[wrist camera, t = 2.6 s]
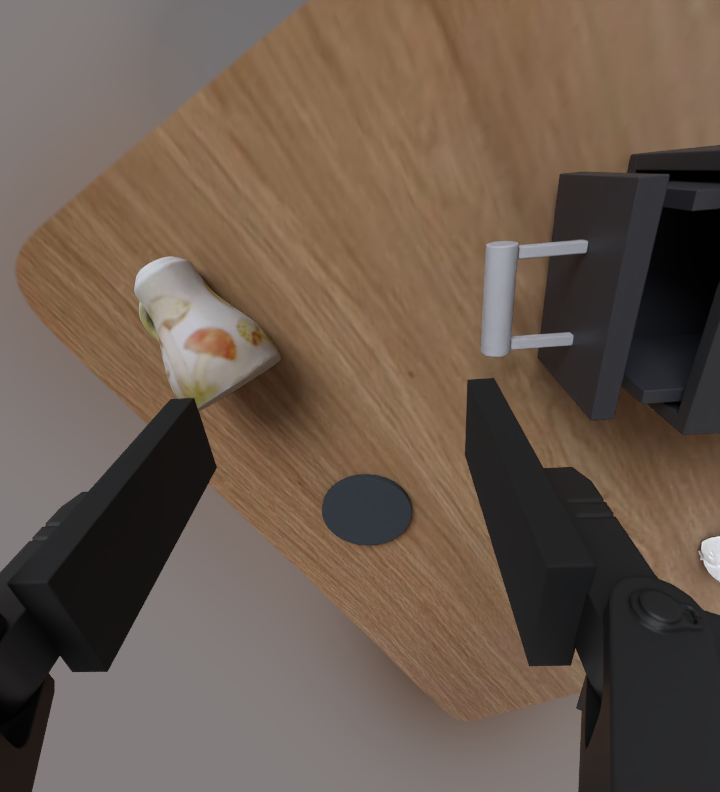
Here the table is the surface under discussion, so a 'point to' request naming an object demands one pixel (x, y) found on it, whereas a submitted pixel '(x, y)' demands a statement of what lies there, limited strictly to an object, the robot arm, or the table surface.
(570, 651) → the robot arm
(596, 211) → the drawer
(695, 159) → the cabinet
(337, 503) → the coaster
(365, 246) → the table surface
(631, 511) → the table surface
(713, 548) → the tissue
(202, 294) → the mug
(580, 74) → the table surface
